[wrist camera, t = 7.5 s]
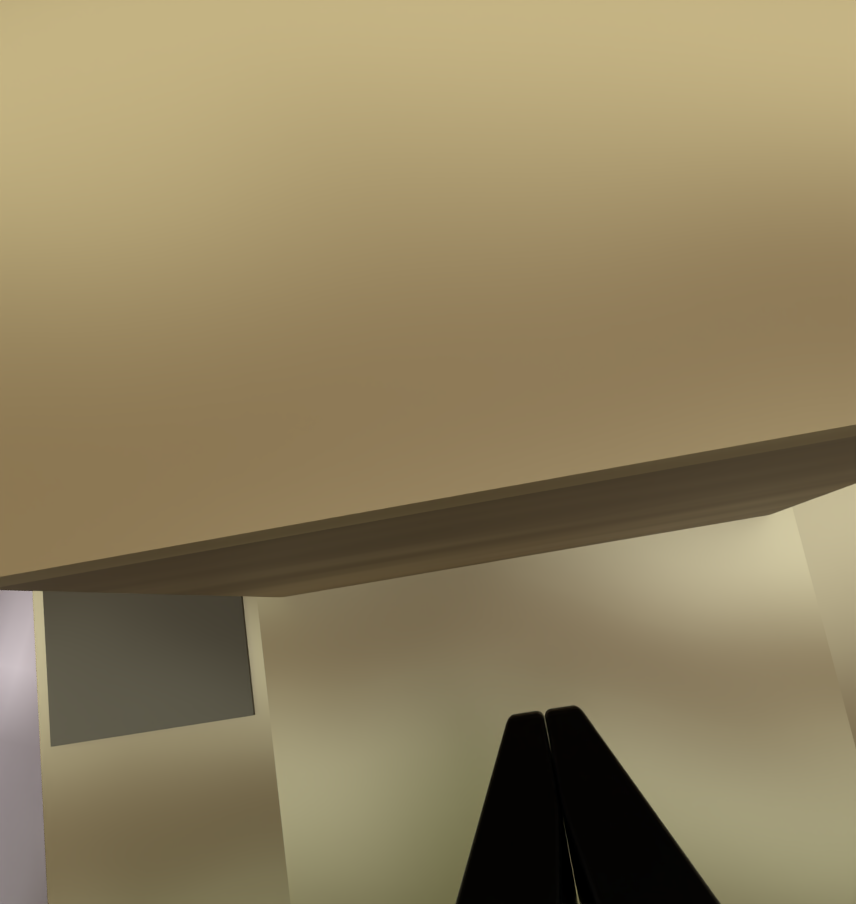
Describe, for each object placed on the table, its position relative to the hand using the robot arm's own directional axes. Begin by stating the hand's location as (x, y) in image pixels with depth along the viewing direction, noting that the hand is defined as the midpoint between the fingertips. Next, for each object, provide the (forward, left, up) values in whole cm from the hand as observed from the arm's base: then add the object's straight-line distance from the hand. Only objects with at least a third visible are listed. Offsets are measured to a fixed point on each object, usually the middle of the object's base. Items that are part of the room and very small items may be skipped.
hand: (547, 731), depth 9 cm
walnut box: (+7, -7, -6) cm, 11 cm away
